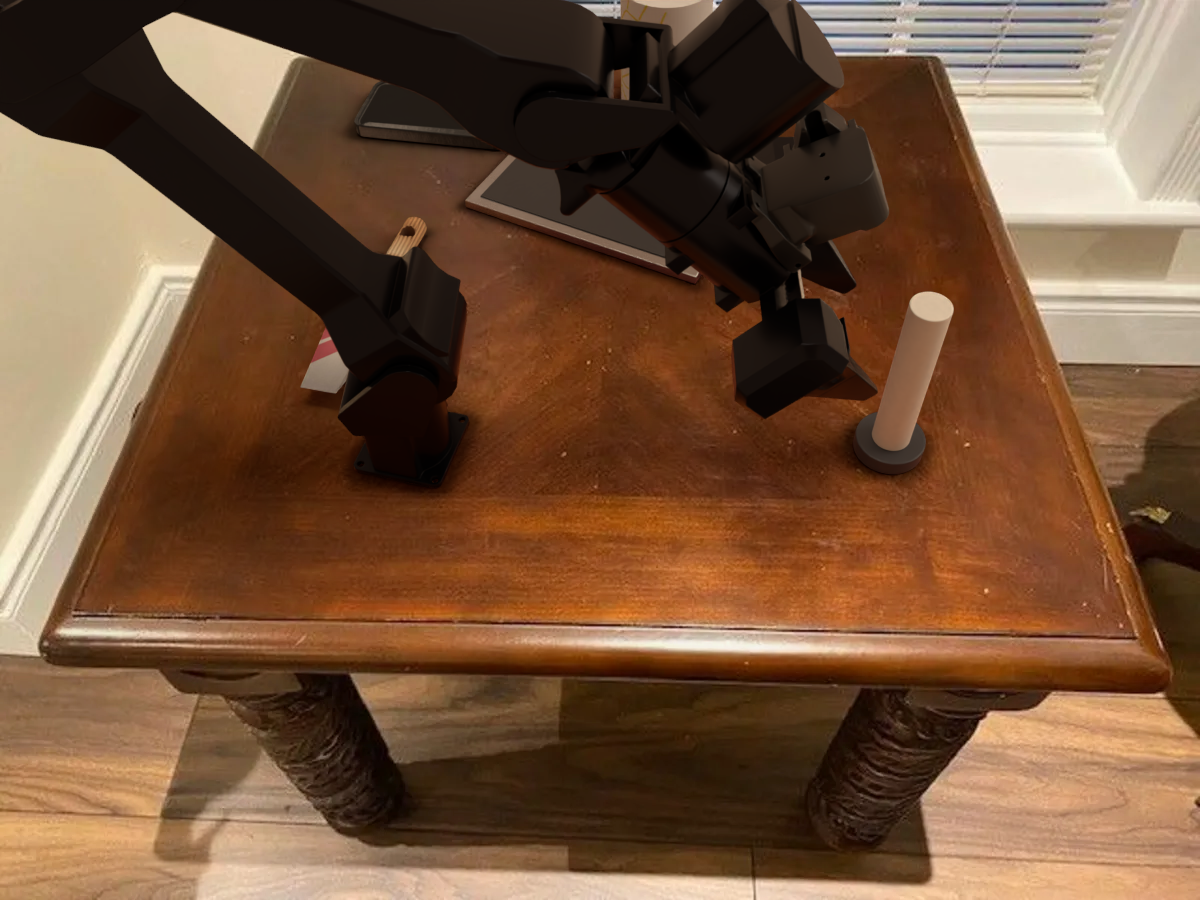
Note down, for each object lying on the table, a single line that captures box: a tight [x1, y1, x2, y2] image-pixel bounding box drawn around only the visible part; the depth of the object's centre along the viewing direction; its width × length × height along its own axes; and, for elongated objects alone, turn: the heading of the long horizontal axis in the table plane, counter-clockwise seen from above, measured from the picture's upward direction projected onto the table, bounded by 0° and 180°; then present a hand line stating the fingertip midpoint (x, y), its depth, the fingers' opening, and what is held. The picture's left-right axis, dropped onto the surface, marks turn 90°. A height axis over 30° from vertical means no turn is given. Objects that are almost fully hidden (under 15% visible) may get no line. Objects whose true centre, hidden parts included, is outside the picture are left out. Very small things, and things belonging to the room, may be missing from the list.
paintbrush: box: [300, 216, 428, 394], centre depth 81 cm, size 4×3×20 cm
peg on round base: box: [852, 291, 955, 475], centre depth 67 cm, size 5×5×14 cm
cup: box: [619, 0, 714, 100], centre depth 94 cm, size 8×8×12 cm
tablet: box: [464, 154, 702, 285], centre depth 90 cm, size 22×15×1 cm
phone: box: [354, 81, 500, 151], centre depth 98 cm, size 8×1×15 cm
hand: (860, 339), depth 64 cm, fingers open, 9 cm apart
